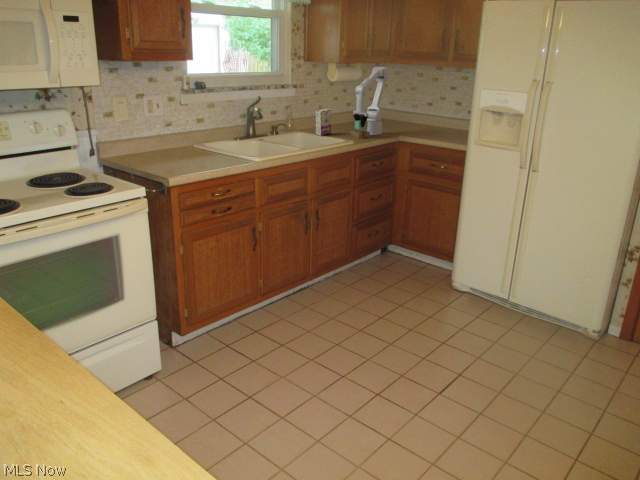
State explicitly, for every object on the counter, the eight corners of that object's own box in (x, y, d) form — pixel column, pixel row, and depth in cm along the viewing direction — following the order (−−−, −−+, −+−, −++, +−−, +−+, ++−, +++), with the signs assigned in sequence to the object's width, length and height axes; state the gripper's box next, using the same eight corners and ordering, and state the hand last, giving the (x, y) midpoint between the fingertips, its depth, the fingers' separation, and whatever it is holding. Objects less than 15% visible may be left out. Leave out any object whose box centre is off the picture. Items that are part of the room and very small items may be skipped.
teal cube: (361, 128, 350) (361, 120, 348) (365, 129, 346) (365, 121, 344) (354, 128, 348) (354, 120, 346) (359, 129, 344) (359, 121, 342)
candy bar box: (325, 133, 362) (325, 108, 356) (331, 134, 359) (331, 109, 353) (315, 135, 354) (315, 110, 348) (321, 136, 351) (321, 110, 345)
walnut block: (360, 136, 355) (361, 130, 354) (369, 138, 348) (369, 131, 347) (350, 137, 350) (350, 131, 349) (358, 139, 343) (358, 133, 342)
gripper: (349, 104, 346) (348, 125, 350) (362, 106, 334) (361, 128, 339) (358, 103, 349) (357, 124, 354) (371, 105, 337) (370, 127, 342)
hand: (360, 126), depth 346 cm, fingers closed on teal cube, 5 cm apart
